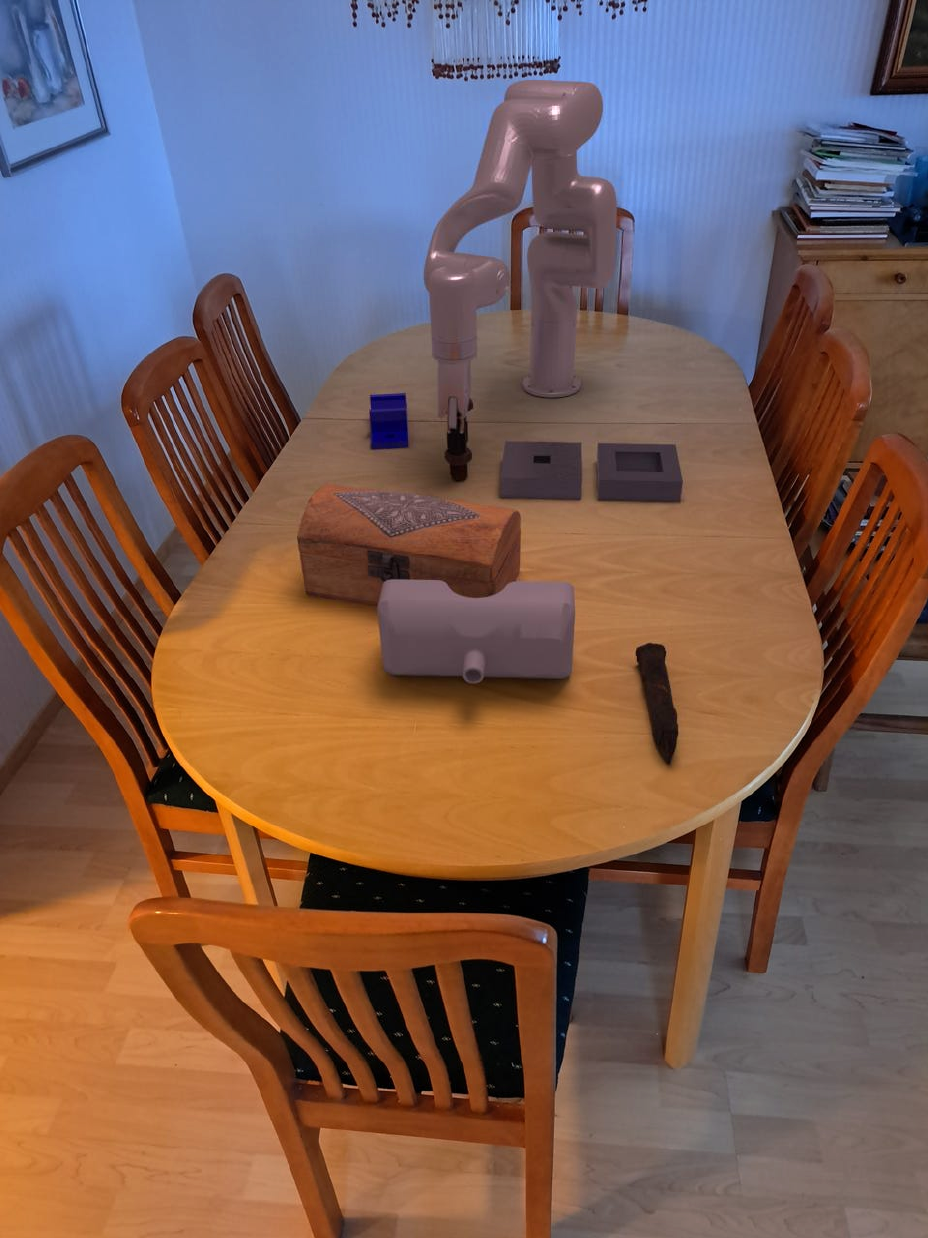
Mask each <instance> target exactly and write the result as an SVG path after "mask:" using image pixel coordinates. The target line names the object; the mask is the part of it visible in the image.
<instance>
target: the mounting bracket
mask: <svg viewBox="0 0 928 1238" xmlns="http://www.w3.org/2000/svg"><path fill="white" fill-rule="evenodd" d="M369 400H370V403H369V404H370V409H369V421H370V422H369V424H370V448H371V450H372V451H375V450H389V449H390V450H392V449H393V450H394V449H408V448H409V447H410V445H409V422H408V421H409V420H408V419H409V418H408V402H407V393H406V392H398V393H396V392H395V393H381V394H380V393H379V394H376V393H375V394H369ZM409 449H410V448H409Z"/></svg>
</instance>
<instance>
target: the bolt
mask: <svg viewBox="0 0 928 1238" xmlns="http://www.w3.org/2000/svg"><path fill="white" fill-rule="evenodd" d="M473 409H474V402H473V400H472V399H471V398H470V400H469V404H468V411H467V413H469V412H470V411H472V410H473ZM446 415H447V412H446ZM457 415H461V413H457ZM466 417H467V416H466ZM466 417H465V418H464V419H463V420H464V431H465V437H466V439H467V435H466V421H467V419H466ZM457 422H459V424H460V420H457ZM444 459H445V461H446V463H447V464H449V475H450V476H451V478H452V480H453V481H457V480H458V481H459V482H461V481H462V482H463V481H464V480H466V479H467V477H468V473H469V471H468V464H469V463H470V462H471V460H473V452H472V450H471V449H470V448H469V447H468V442H467V440H466V452H465V453H448V451H447V449H445V451H444Z"/></svg>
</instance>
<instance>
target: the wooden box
mask: <svg viewBox="0 0 928 1238" xmlns="http://www.w3.org/2000/svg"><path fill="white" fill-rule="evenodd" d="M521 517H522V516H521V513H520V512H519V511H518V510H517V509H512V508H509V507H508V508H507V507H499V506H494V505H493V506H492V505H486V504H480V503H479V504H478V503H471V502H465V501H456V500H450V499H444V498H438V497H436V496H429V495H423V494H418V493H409V492H408V493H405V492H404V493H403V492H393V491H387V490H379V489H372V488H371V489H370V488H362V487H353V486H344V485H338V484H334V483H333V484H332V483H326V484H323V485H321V486H320V487H318V488H317V490H315V491H314V493H313V494H312V495H311V497H310V498H309V500H308V502H307V504H306V505H305V509H304V512H303V515H302V518H301V520H300V524H299V527H298V531H297V536H296V539H297V546H298V552H299V560H300V564H301V570H302V577H303V582H304V583H303V584H304V590H305V594H306V596H309V597H316V598H322V599H328V600H336V601H340V602H341V601H342V602H348V603H353V604H359V605H360V604H361V605H368V606H373V607H378V603H379V598H380V594H381V590H382V586H383V583H384V582H385V581H387V580H392V579H395V580H440V581H443V582H445V583H447V585H448V587H449V588H450V589H451V590H452V591H453V592H455V593H456V594H458V595H461V596H464V597H469V598H484V597H489V596H492V595H495V594H497V593H499V592H500V591H502V590H503V589H504V588H505V586H506V585H507V584H509V583H511V582H515V581H516V580H517V578H518V576H519V574H520V571H521V553H522V552H521V547H522V546H521V545H522V543H521V542H522V541H521V540H522V538H521V537H522V530H521V529H522V528H521V521H522V519H521Z"/></svg>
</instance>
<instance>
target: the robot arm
mask: <svg viewBox="0 0 928 1238" xmlns="http://www.w3.org/2000/svg"><path fill="white" fill-rule="evenodd" d="M603 111H604V99H603V96H602V92H601V90H600V89H599V88H598V87H597V85H595V84H594V83H592V82H588V81H576V80H575V81H572V80H571V81H570V80H569V81H567V80H553V79H552V80H550V79H548V80H547V79H526V80H525V79H523V80H518V81H514V82H513V83H511V84H510V85H508V87H507V89H506V90H505V93H504V99H503V101H502V102H501V103H499V104H498V105H497V106H496V107H495V109H494V110H493V113H492V116H491V117H490V122H489V126H488V129H487V132H486V137H485V139H484V143H483V147H482V151H481V155H480V158H479V162H478V164H477V165H478V166H477V169H476V172H475V177H474V181H473V183H472V186H471V187H470V189H469V190H468V191H466V193H464V194H463V195H462V196H461V197H459V198H458V199H457V200H456V201H455V202H454V203H452V205H451V206H450V207H449V208H448V210H447V211H446V212H445V213H444V214H443V215H442V217H441V218H440V219H439V220H438V223H437V224H436V226H435V228H434V230H433V232H432V236H431V239H430V243H429V247H428V250H427V253H426V257H425V262H424V263H425V264H424V268H423V282H424V283H423V284H424V286H425V289H426V291H427V292H428V293H429V294H428V296H429V313H430V315H429V316H430V318H429V319H430V334H431V335H430V336H431V353H432V355H431V357H432V358H433V359H434V360H435V361H437V417H438V418H439V419H441V420H442V419H444V418H446V425H447V426H446V430H447V431H446V444H447V447H446V448H447V449H446V450H447V451H448V453H465V452H466V440H467V443H468V442H469V430H468V428H469V426H468V425H469V424H468V423H469V422H468V421H467V417H466V416H467V415H468V412H467V411H468V404H469V400H470V399H471V390H472V389H471V388H472V385H471V384H472V370H471V367H472V365H471V361H473V360H474V359H476V358H477V357H478V332H477V331H478V328H477V327H478V326H477V325H478V323H477V321H478V320H477V319H478V318H477V310H478V309H482V308H486V307H488V306H492V305H495V304H496V303H498V302H499V301H501V300H502V298H503V297H504V296H505V295H506V293H507V291H508V289H509V285H510V281H511V280H510V277H511V276H510V271H509V268H508V266H507V264H505V262H504V261H502V260H501V259H500V258H497V257H494V256H489V255H488V256H487V255H478V254H472V253H464V252H456V249H457V247H458V245H459V243H460V242H461V241H462V239H463V238H465V236H466V235H468V233H470V232H471V231H473V230H474V229H475V228H477V227H479V226H481V225H483V224H485V223H489V222H490V221H494V220H496V219H498V218H500V217H503V216H506V215H508V214H511V213H512V212H514V211H516V210H517V209H519V206H521V204H522V202H523V197H524V194H525V189H526V186H527V181H528V178H529V175H530V171H531V193H532V194H531V196H532V210H533V211H532V212H533V217H534V220H535V222H537V225H539V226H541V227H543V228H545V229H546V228H547V229H551V230H557V231H558V230H561V231H569V233H568V232H559V231H558V232H557V231H548V232H546V231H545V232H542V233H540V234H538V235H536V236H534V237H533V238H532V239H531V241H530V242H529V243H528V244H529V245H528V246H527V251H526V264H527V269H528V270H527V272H528V277H529V284H530V303H531V304H530V342H529V343H530V345H529V346H530V351H529V352H530V353H529V356H530V357H529V374H528V375H527V376H525V377H524V379H522V388H523V390H524V391H525V392H527V393H528V394H530V395H532V396H535V397H541V398H551V399H552V398H563V397H564V398H565V397H568V396H571V395H574V394H576V393H577V392H578V391H579V390H580V389H581V386H582V381H581V379H580V378H579V377H578V376H577V375H575V366H576V363H575V361H576V344H577V343H576V342H577V341H576V340H577V322H578V304H577V303H578V302H577V299H576V296H575V294H574V292H573V290H572V288H571V287H577V288H584V289H602V288H604V287H605V288H606V286H607V285H609V284H610V282H611V281H612V278H613V275H614V271H615V265H616V253H617V252H616V246H617V244H616V243H617V213H618V212H617V210H618V209H617V208H618V206H617V205H618V204H617V194H616V191H615V188H614V185H613V183H611V182H610V181H609V180H608V179H606V178H603V177H597V176H588V175H587V176H586V175H580V174H579V172H578V151H579V149H581V147H582V146H584V145H585V144H586V143H587V142H588V141H589V140H590V139H592V137H593V136H594V135H595V134H596V132H597V130H598V128H599V127H600V124H601V121H602V117H603V114H604V113H603ZM570 232H582V233H585V234H576V233H570ZM446 412H447V414H446ZM457 413H461V415H457ZM465 417H466V435H467V439H466V437H465V431H464V420H463V419H464V418H465ZM457 420H460V424H459V422H457Z"/></svg>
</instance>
